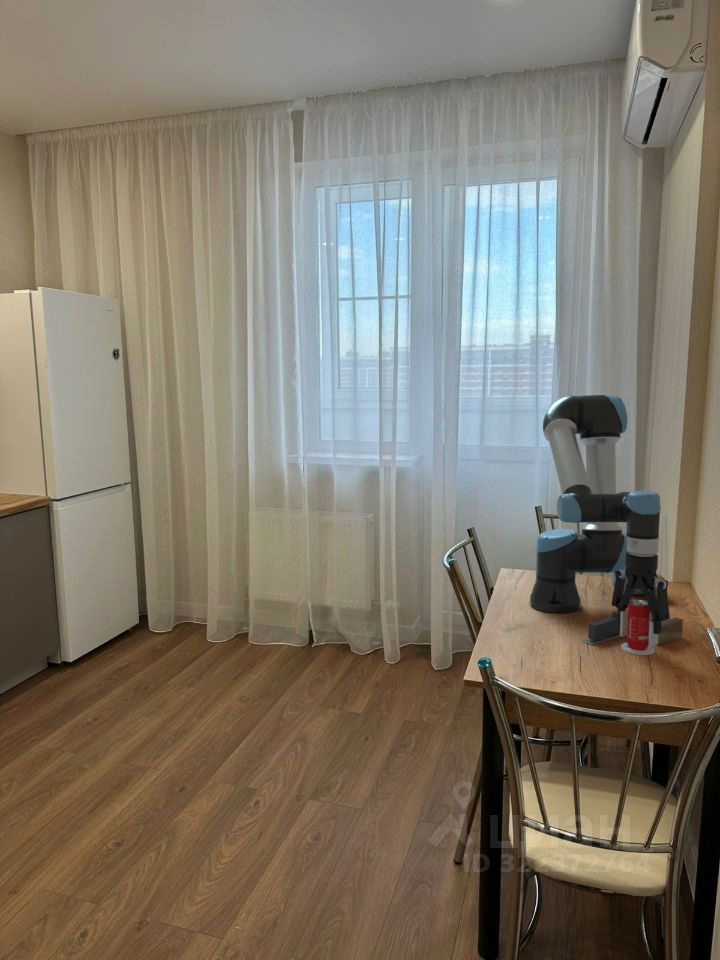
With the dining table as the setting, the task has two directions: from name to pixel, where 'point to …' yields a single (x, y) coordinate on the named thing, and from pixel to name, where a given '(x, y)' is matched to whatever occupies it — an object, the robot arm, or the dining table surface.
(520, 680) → the dining table surface
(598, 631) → the dark grey block
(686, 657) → the dining table surface
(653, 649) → the coaster
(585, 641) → the rail
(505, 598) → the dining table surface
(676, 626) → the block
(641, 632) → the beverage can
